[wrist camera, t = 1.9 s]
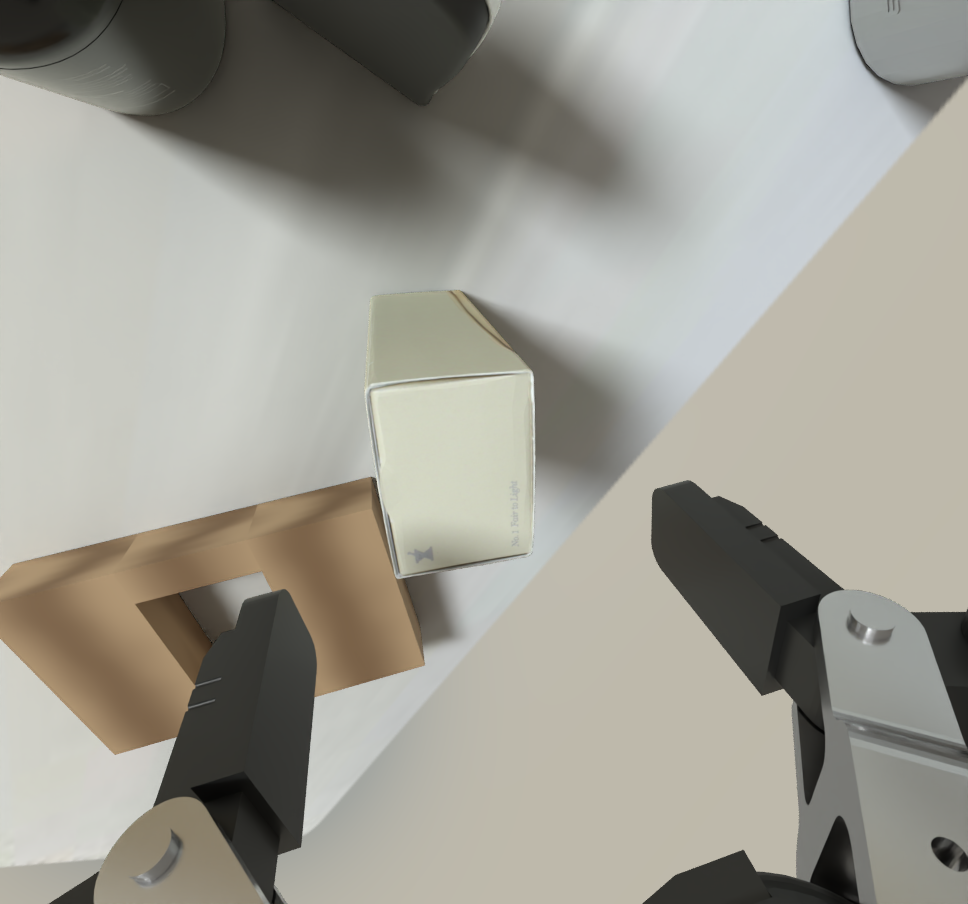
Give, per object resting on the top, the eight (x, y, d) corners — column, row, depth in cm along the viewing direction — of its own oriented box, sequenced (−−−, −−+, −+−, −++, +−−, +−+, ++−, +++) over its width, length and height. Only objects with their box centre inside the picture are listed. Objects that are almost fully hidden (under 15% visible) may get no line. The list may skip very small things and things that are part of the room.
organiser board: (371, 476, 26) (371, 508, 24) (420, 626, 32) (424, 665, 30) (13, 564, 24) (-29, 609, 22) (136, 706, 30) (114, 754, 28)
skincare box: (467, 408, 26) (538, 562, 15) (381, 418, 25) (393, 588, 14) (461, 283, 22) (544, 367, 12) (362, 290, 22) (360, 387, 11)
